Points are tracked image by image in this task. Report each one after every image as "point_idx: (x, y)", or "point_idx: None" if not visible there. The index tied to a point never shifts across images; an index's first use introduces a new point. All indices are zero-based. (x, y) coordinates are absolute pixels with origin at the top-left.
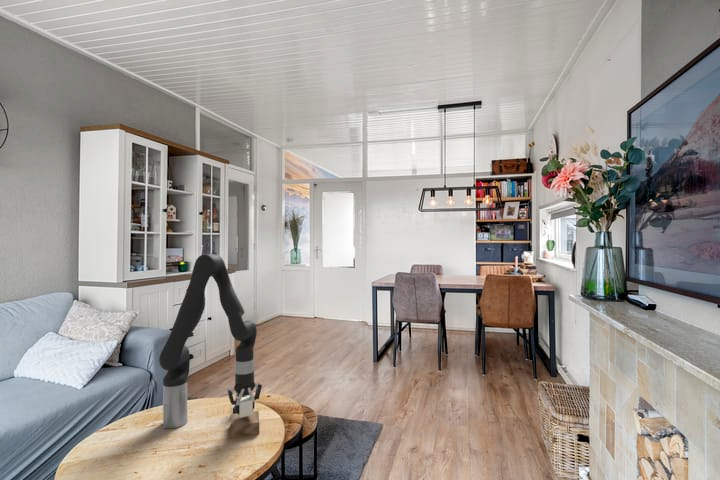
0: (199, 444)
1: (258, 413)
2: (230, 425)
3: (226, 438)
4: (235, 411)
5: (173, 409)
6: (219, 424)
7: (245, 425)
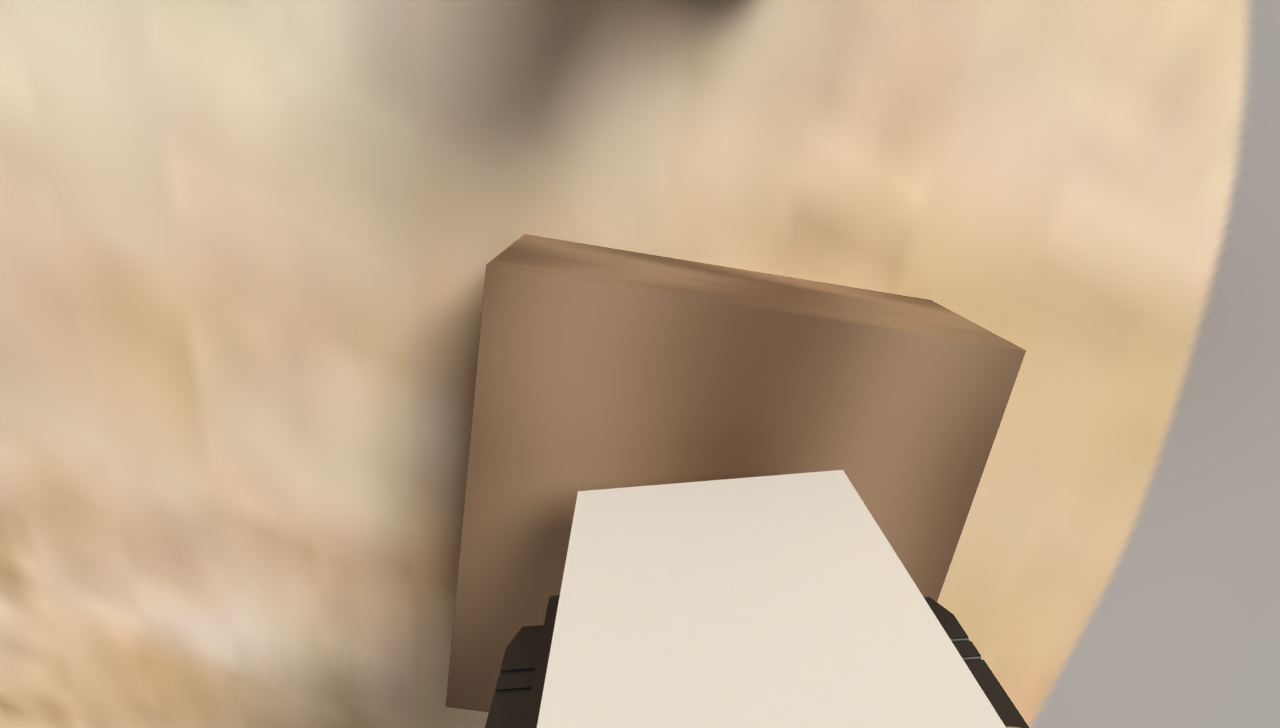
0: (122, 568)
1: (979, 477)
2: (448, 682)
3: (440, 570)
4: (517, 637)
5: None
6: (338, 109)
7: None
